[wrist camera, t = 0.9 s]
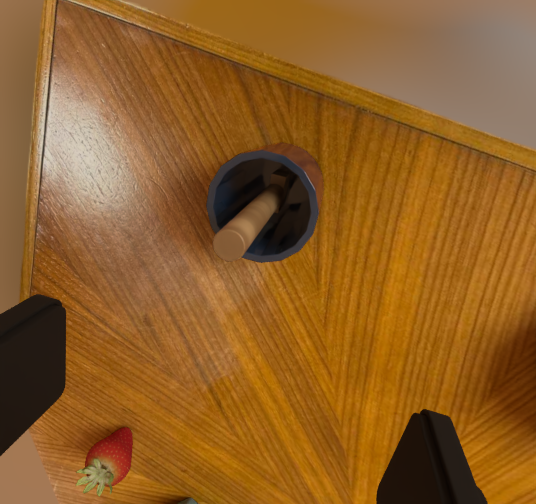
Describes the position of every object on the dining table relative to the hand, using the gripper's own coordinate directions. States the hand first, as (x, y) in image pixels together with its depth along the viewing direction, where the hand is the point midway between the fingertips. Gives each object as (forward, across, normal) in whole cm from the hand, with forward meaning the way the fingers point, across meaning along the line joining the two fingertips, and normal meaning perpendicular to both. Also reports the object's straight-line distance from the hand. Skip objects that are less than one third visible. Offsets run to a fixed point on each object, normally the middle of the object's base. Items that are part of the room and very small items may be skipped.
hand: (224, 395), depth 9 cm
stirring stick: (+24, +2, -1) cm, 24 cm away
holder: (+25, +2, -1) cm, 25 cm away
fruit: (+25, +14, +34) cm, 45 cm away
